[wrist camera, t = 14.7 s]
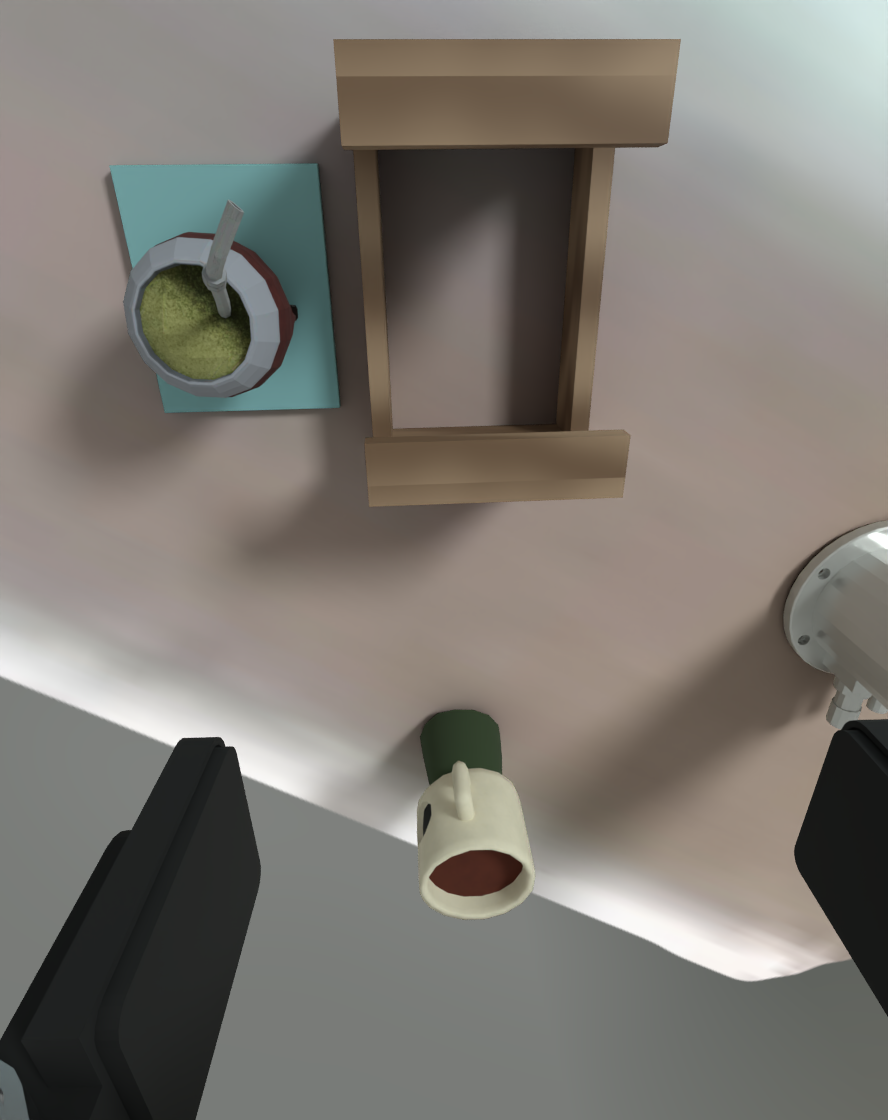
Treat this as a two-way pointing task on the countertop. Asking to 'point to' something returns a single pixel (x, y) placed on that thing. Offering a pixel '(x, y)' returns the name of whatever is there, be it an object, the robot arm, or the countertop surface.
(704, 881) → the countertop surface
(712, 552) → the countertop surface
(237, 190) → the teal mat
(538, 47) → the walnut box
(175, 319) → the mate gourd
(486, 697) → the countertop surface
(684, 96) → the countertop surface
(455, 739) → the character mug
